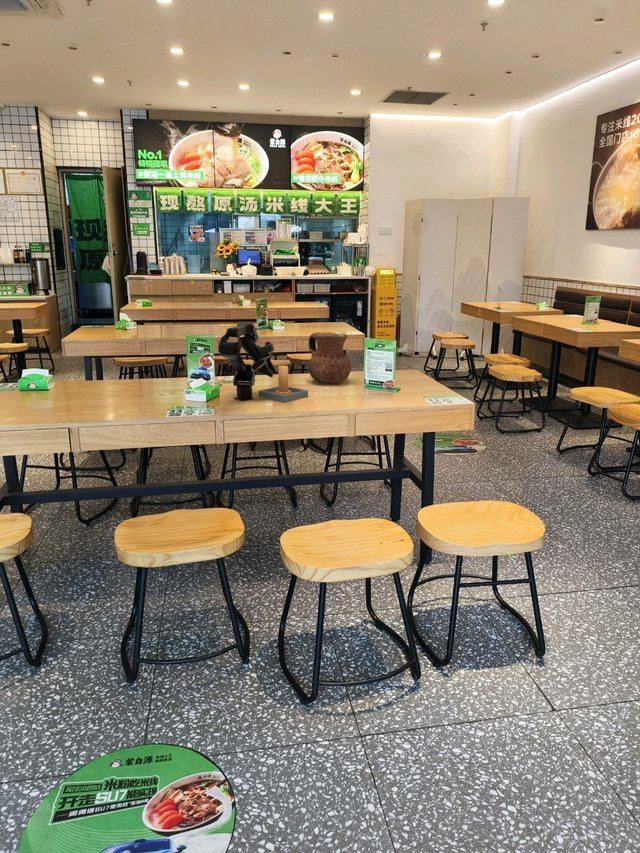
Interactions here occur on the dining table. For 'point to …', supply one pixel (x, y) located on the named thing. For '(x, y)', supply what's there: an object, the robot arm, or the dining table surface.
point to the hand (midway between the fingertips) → (273, 374)
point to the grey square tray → (294, 395)
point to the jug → (328, 358)
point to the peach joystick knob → (283, 381)
